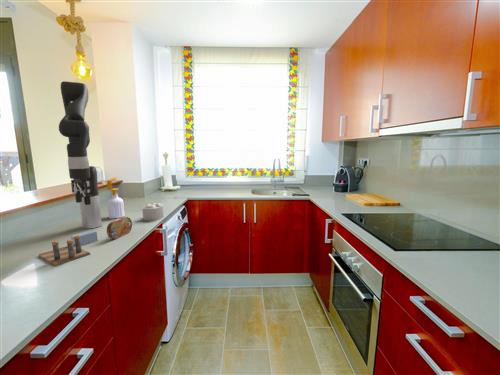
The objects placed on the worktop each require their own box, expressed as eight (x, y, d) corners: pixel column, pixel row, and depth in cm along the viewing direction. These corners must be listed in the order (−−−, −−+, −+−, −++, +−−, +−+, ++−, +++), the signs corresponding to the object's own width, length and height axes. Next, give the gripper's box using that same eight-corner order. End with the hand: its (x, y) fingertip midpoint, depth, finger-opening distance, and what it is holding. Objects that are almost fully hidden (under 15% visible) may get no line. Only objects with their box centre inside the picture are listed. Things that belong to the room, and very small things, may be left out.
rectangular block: (72, 245, 112) (70, 235, 111) (93, 239, 119) (92, 230, 119) (76, 247, 110) (74, 237, 109) (97, 241, 117) (96, 231, 117)
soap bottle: (127, 216, 160) (124, 177, 156) (113, 219, 152) (109, 179, 148) (119, 214, 165) (116, 177, 161) (105, 217, 157) (101, 178, 153)
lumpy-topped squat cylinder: (140, 219, 151) (139, 205, 150) (153, 214, 164) (152, 201, 162) (155, 220, 149) (154, 206, 147) (167, 215, 161) (167, 202, 160)
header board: (38, 256, 101) (36, 238, 99) (72, 246, 110) (70, 229, 109) (54, 265, 92) (51, 246, 91) (90, 254, 102) (87, 236, 100)
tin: (112, 241, 116) (110, 223, 115) (106, 240, 117) (104, 223, 116) (133, 230, 131) (131, 215, 129) (127, 230, 131) (126, 215, 130)
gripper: (62, 167, 110) (66, 203, 113) (76, 168, 102) (81, 207, 105) (81, 166, 117) (85, 200, 119) (96, 167, 109) (100, 203, 111)
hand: (83, 203), depth 112 cm, fingers open, 8 cm apart
